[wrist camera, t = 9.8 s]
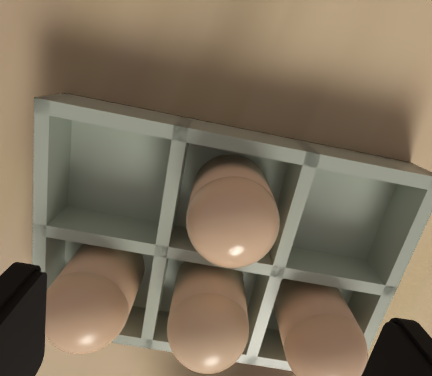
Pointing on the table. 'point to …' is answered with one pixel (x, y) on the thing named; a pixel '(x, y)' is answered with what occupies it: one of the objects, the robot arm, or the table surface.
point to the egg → (232, 212)
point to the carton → (197, 265)
